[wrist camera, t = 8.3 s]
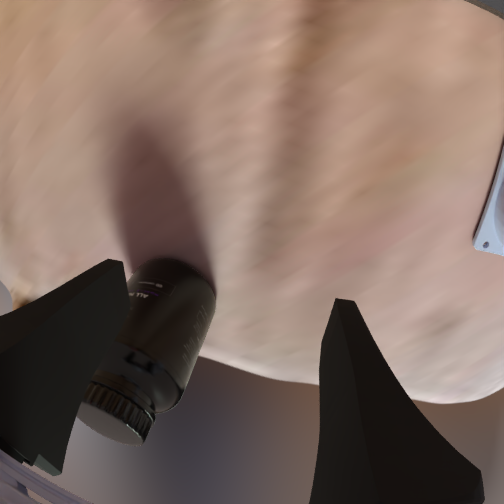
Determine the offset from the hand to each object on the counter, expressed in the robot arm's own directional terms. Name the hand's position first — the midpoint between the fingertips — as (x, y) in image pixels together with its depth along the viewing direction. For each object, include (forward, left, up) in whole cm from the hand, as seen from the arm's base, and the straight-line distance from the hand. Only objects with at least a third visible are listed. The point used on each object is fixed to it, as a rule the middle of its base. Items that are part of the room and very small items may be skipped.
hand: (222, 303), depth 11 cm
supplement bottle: (+6, +9, -10) cm, 15 cm away
